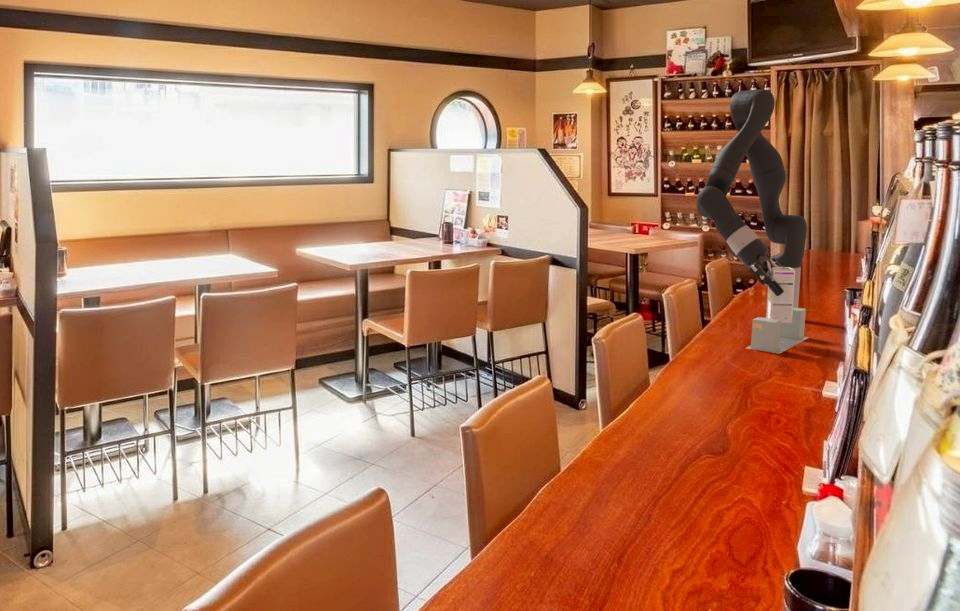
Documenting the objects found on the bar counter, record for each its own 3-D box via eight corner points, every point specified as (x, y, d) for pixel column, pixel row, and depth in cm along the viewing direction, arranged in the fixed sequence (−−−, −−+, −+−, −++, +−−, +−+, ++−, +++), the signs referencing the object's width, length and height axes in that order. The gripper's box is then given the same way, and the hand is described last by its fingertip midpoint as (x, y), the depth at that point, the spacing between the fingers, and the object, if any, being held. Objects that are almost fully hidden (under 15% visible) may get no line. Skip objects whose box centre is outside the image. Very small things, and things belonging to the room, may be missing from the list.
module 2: (782, 333, 216) (784, 306, 214) (803, 336, 212) (805, 308, 210) (777, 336, 213) (779, 308, 211) (798, 339, 209) (800, 311, 207)
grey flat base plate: (776, 336, 217) (776, 332, 217) (808, 341, 211) (809, 337, 211) (744, 352, 200) (745, 348, 200) (778, 358, 194) (779, 353, 194)
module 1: (756, 346, 202) (758, 317, 200) (779, 349, 198) (781, 320, 196) (750, 349, 199) (752, 319, 197) (773, 352, 195) (775, 322, 193)
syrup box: (792, 323, 201) (797, 269, 198) (769, 322, 202) (773, 269, 199) (788, 319, 206) (792, 266, 203) (765, 318, 207) (769, 266, 205)
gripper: (747, 239, 199) (787, 286, 194) (767, 235, 210) (806, 280, 205) (726, 257, 204) (766, 304, 199) (747, 252, 214) (785, 296, 209)
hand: (786, 292), depth 202 cm, fingers closed on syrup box, 8 cm apart
